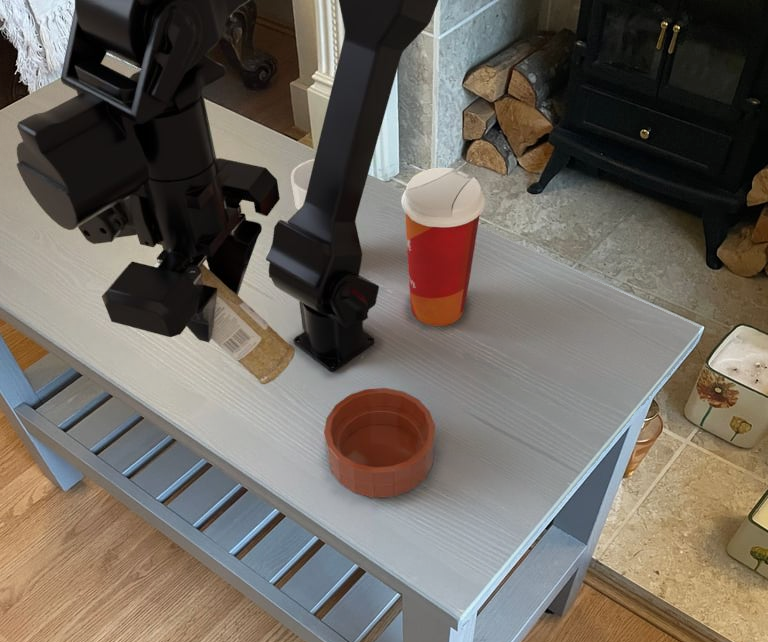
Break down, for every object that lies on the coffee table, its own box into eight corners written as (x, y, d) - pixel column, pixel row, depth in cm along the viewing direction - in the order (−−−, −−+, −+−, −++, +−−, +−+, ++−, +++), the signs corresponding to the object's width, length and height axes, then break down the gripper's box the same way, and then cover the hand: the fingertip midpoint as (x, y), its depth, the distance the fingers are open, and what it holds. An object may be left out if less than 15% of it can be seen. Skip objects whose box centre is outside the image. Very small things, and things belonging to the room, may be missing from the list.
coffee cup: (430, 274, 94) (435, 154, 82) (488, 304, 91) (502, 184, 78) (385, 312, 90) (383, 193, 78) (444, 344, 87) (451, 225, 75)
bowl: (455, 458, 78) (457, 428, 75) (378, 520, 74) (377, 491, 71) (382, 403, 83) (381, 371, 79) (306, 458, 79) (301, 428, 75)
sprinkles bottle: (303, 341, 73) (187, 230, 67) (285, 374, 70) (163, 260, 64) (273, 362, 76) (159, 257, 70) (255, 394, 73) (135, 287, 67)
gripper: (144, 76, 65) (187, 240, 78) (5, 211, 55) (80, 372, 68) (269, 100, 62) (292, 265, 75) (147, 245, 53) (197, 406, 65)
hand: (216, 322), depth 71 cm, fingers closed on sprinkles bottle, 4 cm apart
